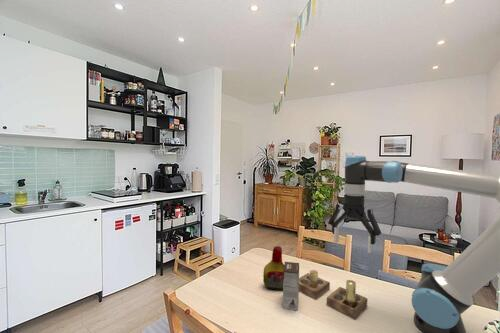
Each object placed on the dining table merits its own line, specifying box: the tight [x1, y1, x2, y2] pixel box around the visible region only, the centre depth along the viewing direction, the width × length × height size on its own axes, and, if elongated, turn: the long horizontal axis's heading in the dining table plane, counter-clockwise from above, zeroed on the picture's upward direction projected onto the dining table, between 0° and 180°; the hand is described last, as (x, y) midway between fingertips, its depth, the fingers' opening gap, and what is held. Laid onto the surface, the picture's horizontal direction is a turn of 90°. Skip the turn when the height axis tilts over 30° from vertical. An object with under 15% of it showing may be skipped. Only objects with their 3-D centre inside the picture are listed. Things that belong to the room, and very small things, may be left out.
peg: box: [345, 279, 357, 308], centre depth 97 cm, size 4×4×12 cm
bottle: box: [262, 245, 285, 291], centre depth 113 cm, size 12×6×20 cm, turn 76°
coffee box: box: [282, 261, 300, 311], centre depth 101 cm, size 9×6×16 cm
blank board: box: [326, 286, 368, 320], centre depth 100 cm, size 12×12×4 cm
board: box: [299, 269, 331, 301], centre depth 113 cm, size 12×12×10 cm
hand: (352, 246), depth 96 cm, fingers open, 13 cm apart
